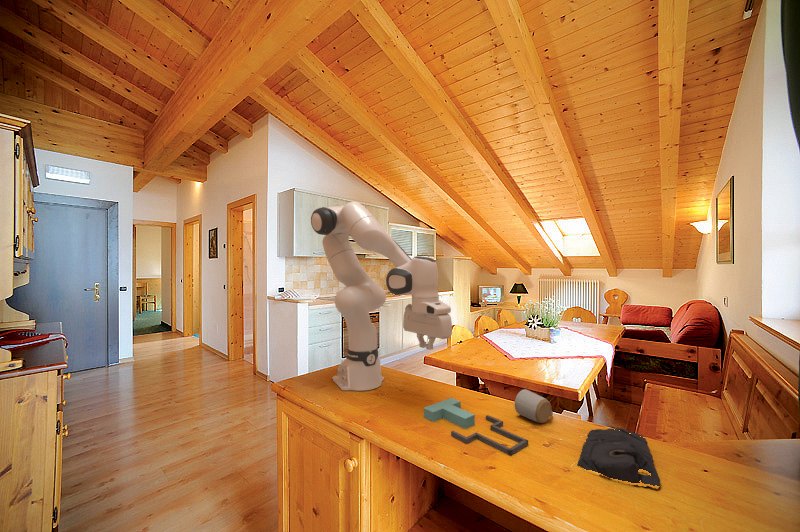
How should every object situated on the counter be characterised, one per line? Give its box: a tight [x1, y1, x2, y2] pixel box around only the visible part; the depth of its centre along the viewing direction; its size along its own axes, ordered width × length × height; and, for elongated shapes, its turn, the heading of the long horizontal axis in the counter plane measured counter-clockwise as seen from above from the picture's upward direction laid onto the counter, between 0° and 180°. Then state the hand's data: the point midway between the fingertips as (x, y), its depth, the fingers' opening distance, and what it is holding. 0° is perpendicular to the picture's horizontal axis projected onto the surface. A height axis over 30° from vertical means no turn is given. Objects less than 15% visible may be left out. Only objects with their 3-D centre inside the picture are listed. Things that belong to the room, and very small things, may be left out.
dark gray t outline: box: [450, 414, 529, 457], centre depth 90 cm, size 16×16×1 cm
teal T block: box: [423, 397, 476, 430], centre depth 101 cm, size 13×12×3 cm
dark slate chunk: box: [577, 427, 661, 487], centre depth 80 cm, size 15×22×5 cm
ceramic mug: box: [514, 388, 554, 424], centre depth 101 cm, size 11×8×8 cm
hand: (426, 348), depth 110 cm, fingers closed
